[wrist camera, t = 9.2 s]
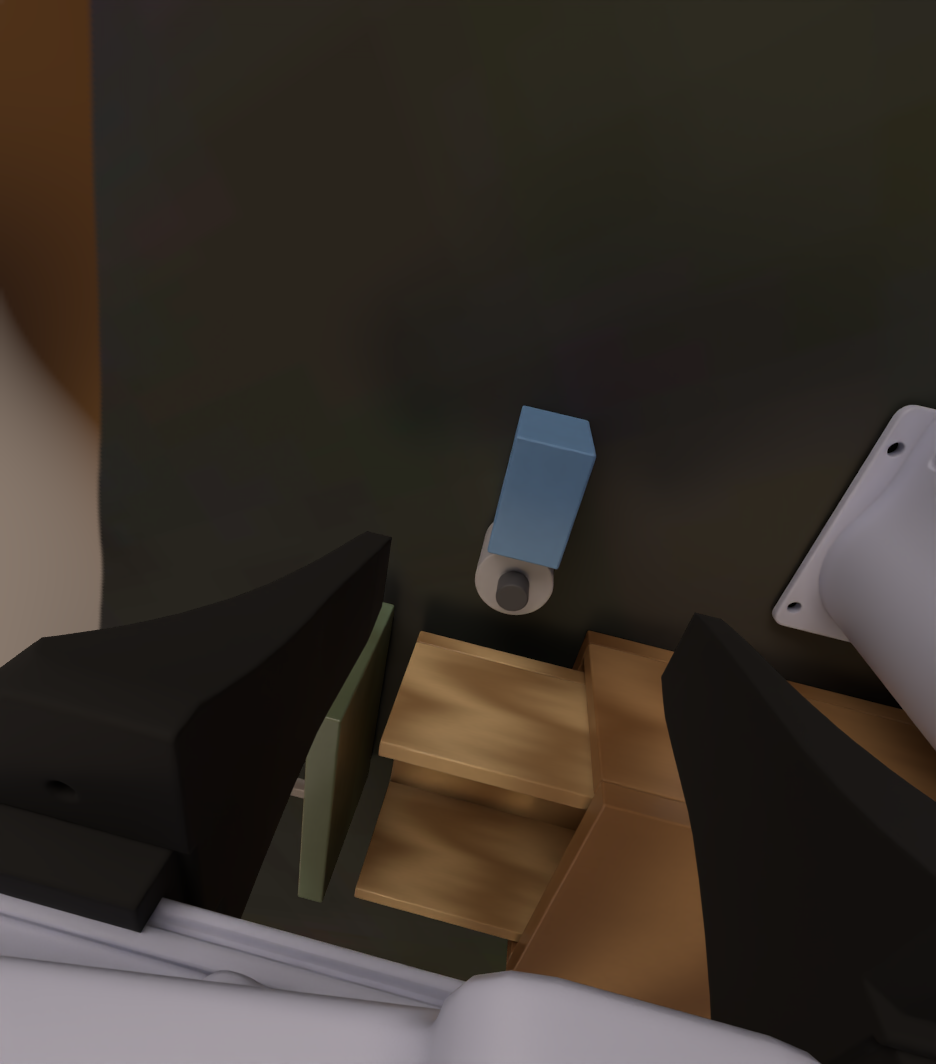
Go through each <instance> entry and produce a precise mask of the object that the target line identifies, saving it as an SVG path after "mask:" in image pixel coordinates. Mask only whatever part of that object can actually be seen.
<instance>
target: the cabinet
mask: <svg viewBox="0 0 936 1064" xmlns="http://www.w3.org/2000/svg"><path fill="white" fill-rule="evenodd" d="M673 653H674V652H672V651H669V650H665V649H661V648H657V647H653V646H649V645H645V644H641V643H637V642H633V641H629V640H625V639H621V638H617V637H613V636H609V635H605V634H601V633H597V632H593V631H589V630H588V631H587V633H586V636H585V638H584V641H583V643H582V646H581V648H580V651H579V653H578V656H577V658H576V661H575V663H574V665H573V668H572V670H576V671H580V672H584V673H585V683H586V696H587V710H588V723H589V736H590V750H591V763H592V777H593V790H594V794H595V795H594V797H593V799H592V801H591V803H590V805H589V807H588V809H587V811H586V813H585V815H584V816H583V818H582V820H581V822H580V824H579V826H578V828H577V830H576V832H575V834H574V836H573V838H572V839H571V841H570V843H569V845H568V847H567V849H566V851H565V853H564V855H563V857H562V859H561V861H560V863H559V864H558V866H557V868H556V870H555V872H554V874H553V876H552V878H551V880H550V882H549V884H548V886H547V887H546V889H545V891H544V893H543V895H542V897H541V899H540V901H539V903H538V905H537V907H536V909H535V911H534V912H533V914H532V916H531V918H530V920H529V922H528V924H527V926H526V928H525V930H524V932H523V934H522V935H521V937H520V939H519V941H518V942H516V941H512V940H509V939H508V947H507V964H506V971H510V970H513V971H519V972H526V973H533V974H540V975H546V976H553V977H559V978H562V979H566V980H569V981H573V982H577V983H580V984H584V985H588V986H591V987H595V988H598V989H602V990H606V991H609V992H613V993H616V994H620V995H624V996H627V997H631V998H635V999H638V1000H642V1001H645V1002H649V1003H653V1004H656V1005H660V1006H664V1007H667V1008H671V1009H674V1010H678V1011H682V1012H685V1013H689V1014H692V1015H696V1016H700V1017H703V1018H707V1019H711V1012H710V993H709V981H708V968H707V956H706V944H705V932H704V923H703V913H702V904H701V895H700V886H699V878H698V871H697V864H696V856H695V849H694V842H693V835H692V829H691V825H690V820H689V815H688V810H687V806H686V802H685V798H684V794H683V790H682V786H681V782H680V778H679V774H678V770H677V766H676V762H675V758H674V754H673V750H672V746H671V741H670V737H669V733H668V729H667V725H666V720H665V714H664V706H663V696H662V683H661V676H662V674H663V672H664V670H665V668H666V666H667V665H668V663H669V661H670V659H671V657H672V655H673ZM788 682H789V683H790V684H791V685H792V686H793V687H794V688H795V689H796V690H797V691H798V692H799V693H800V694H801V695H802V696H804V697H805V698H806V699H807V700H808V701H809V702H810V703H811V704H812V705H813V706H814V707H816V708H817V709H818V710H819V711H820V712H821V713H822V714H823V715H825V716H826V717H827V718H828V719H829V720H830V721H831V722H833V723H834V724H835V725H836V726H837V727H838V728H839V729H841V730H842V731H843V732H844V733H845V734H847V735H848V736H849V737H850V738H851V739H853V740H854V741H855V742H856V743H858V744H859V745H860V746H861V747H863V748H864V749H865V750H866V751H868V752H869V753H870V754H872V755H873V756H874V757H875V758H877V759H878V760H879V761H880V762H882V763H883V764H884V765H885V766H887V767H888V768H889V769H891V770H892V771H893V772H895V773H896V774H897V775H899V776H900V777H902V778H903V779H904V780H906V781H907V782H908V783H910V784H911V785H912V786H914V787H915V788H917V789H918V790H920V791H921V792H923V793H924V794H925V795H927V796H928V797H930V798H931V799H933V800H934V801H935V802H936V751H935V750H934V748H933V747H932V746H931V744H930V743H929V742H928V741H927V739H926V738H925V737H924V735H923V734H922V733H921V732H920V730H919V729H918V728H917V727H916V725H915V724H914V723H913V721H912V720H911V719H910V718H909V716H908V715H907V714H906V712H905V711H904V710H902V709H898V708H894V707H890V706H886V705H882V704H878V703H874V702H870V701H867V700H863V699H859V698H855V697H851V696H847V695H843V694H839V693H835V692H831V691H827V690H823V689H819V688H815V687H811V686H807V685H803V684H799V683H795V682H791V681H788Z"/></svg>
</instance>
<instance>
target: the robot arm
mask: <svg viewBox="0 0 936 1064" xmlns="http://www.w3.org/2000/svg"><path fill="white" fill-rule="evenodd" d="M896 442H898V447H897V449H896V450H895V451H893V452H891V453H887V451H888V448H889V447H890V446H891V445H892V444H894V443H896ZM391 540H392V537H388V536H384V535H380V534H376V533H372V532H368V531H366V532H365V533H363V534H361V535H359V536H357V537H356V538H354V539H352V540H351V541H349V542H347V543H345V544H344V545H342V546H340V547H339V548H337V549H335V550H334V551H332V552H330V553H328V554H327V555H325V556H323V557H321V558H319V559H318V560H316V561H314V562H312V563H310V564H309V565H307V566H305V567H303V568H301V569H299V570H296V571H294V572H292V573H290V574H288V575H286V576H284V577H282V578H280V579H278V580H276V581H274V582H271V583H269V584H267V585H264V586H262V587H259V588H257V589H254V590H252V591H249V592H246V593H244V594H241V595H238V596H236V597H233V598H230V599H227V600H224V601H220V602H217V603H214V604H210V605H207V606H204V607H200V608H197V609H193V610H190V611H187V612H183V613H179V614H175V615H171V616H167V617H163V618H158V619H154V620H149V621H144V622H139V623H135V624H130V625H124V626H119V627H113V628H107V629H100V630H94V631H87V632H80V633H73V634H66V635H59V636H51V637H43V638H41V639H39V640H38V641H37V642H35V643H33V644H32V645H31V646H29V647H28V648H27V649H25V650H24V651H22V652H21V653H20V654H18V655H17V656H16V657H14V658H13V659H12V660H10V661H9V662H7V663H6V664H5V665H3V666H2V667H1V668H0V1064H936V802H935V801H934V800H933V799H931V798H930V797H928V796H927V795H925V794H924V793H923V792H921V791H920V790H918V789H917V788H915V787H914V786H912V785H911V784H910V783H908V782H907V781H906V780H904V779H903V778H902V777H900V776H899V775H897V774H896V773H895V772H893V771H892V770H891V769H889V768H888V767H887V766H885V765H884V764H883V763H882V762H880V761H879V760H878V759H877V758H875V757H874V756H873V755H872V754H870V753H869V752H868V751H866V750H865V749H864V748H863V747H861V746H860V745H859V744H858V743H856V742H855V741H854V740H853V739H851V738H850V737H849V736H848V735H847V734H845V733H844V732H843V731H842V730H841V729H839V728H838V727H837V726H836V725H835V724H834V723H833V722H831V721H830V720H829V719H828V718H827V717H826V716H825V715H823V714H822V713H821V712H820V711H819V710H818V709H817V708H816V707H814V706H813V705H812V704H811V703H810V702H809V701H808V700H807V699H806V698H805V697H804V696H802V695H801V694H800V693H799V692H798V691H797V690H796V689H795V688H794V687H793V686H792V685H791V684H790V683H789V682H788V681H787V680H785V679H784V678H783V677H782V676H781V675H780V674H779V673H778V672H777V671H776V670H775V669H774V668H773V667H772V666H771V665H770V664H769V663H768V662H767V661H766V660H765V659H764V658H763V657H762V656H761V655H760V654H759V653H758V652H757V651H756V650H755V649H754V648H753V647H752V646H751V645H750V644H749V643H748V642H746V641H745V640H744V639H743V638H742V637H741V636H740V635H739V634H738V633H737V632H736V631H735V630H734V629H733V628H731V627H730V626H729V625H728V624H727V623H725V622H724V621H723V620H722V619H719V618H715V617H711V616H707V615H703V614H699V613H694V615H693V617H692V619H691V621H690V623H689V625H688V627H687V628H686V630H685V632H684V634H683V636H682V638H681V640H680V642H679V644H678V646H677V647H676V649H675V651H674V653H673V655H672V657H671V659H670V661H669V663H668V665H667V666H666V668H665V670H664V672H663V674H662V676H661V683H662V696H663V706H664V714H665V720H666V725H667V729H668V733H669V737H670V741H671V746H672V750H673V754H674V758H675V762H676V766H677V770H678V774H679V778H680V782H681V786H682V790H683V794H684V798H685V802H686V806H687V810H688V815H689V820H690V825H691V829H692V835H693V842H694V849H695V856H696V864H697V871H698V878H699V886H700V895H701V904H702V913H703V923H704V932H705V944H706V956H707V968H708V981H709V993H710V1012H711V1019H707V1018H703V1017H700V1016H696V1015H692V1014H689V1013H685V1012H682V1011H678V1010H674V1009H671V1008H667V1007H664V1006H660V1005H656V1004H653V1003H649V1002H645V1001H642V1000H638V999H635V998H631V997H627V996H624V995H620V994H616V993H613V992H609V991H606V990H602V989H598V988H595V987H591V986H588V985H584V984H580V983H577V982H573V981H569V980H566V979H562V978H559V977H553V976H546V975H540V974H533V973H526V972H519V971H513V970H510V971H503V972H495V973H488V974H481V975H474V976H473V977H471V978H470V979H469V980H468V981H466V982H465V981H461V980H458V979H454V978H451V977H447V976H443V975H440V974H436V973H433V972H429V971H425V970H422V969H418V968H415V967H411V966H407V965H404V964H400V963H397V962H393V961H389V960H386V959H382V958H379V957H375V956H372V955H368V954H364V953H361V952H357V951H354V950H350V949H346V948H343V947H339V946H336V945H332V944H328V943H325V942H321V941H318V940H314V939H310V938H307V937H303V936H300V935H296V934H293V933H289V932H285V931H282V930H278V929H275V928H271V927H267V926H264V925H260V924H257V923H253V922H249V921H246V920H242V919H241V917H242V914H243V911H244V909H245V906H246V904H247V901H248V899H249V896H250V893H251V891H252V888H253V886H254V883H255V880H256V878H257V875H258V873H259V870H260V868H261V865H262V863H263V860H264V858H265V855H266V853H267V850H268V848H269V846H270V843H271V841H272V838H273V836H274V833H275V831H276V828H277V826H278V823H279V821H280V818H281V816H282V814H283V811H284V809H285V806H286V804H287V802H288V799H289V797H290V795H291V792H292V790H293V787H294V785H295V783H296V780H297V778H298V776H299V773H300V771H301V769H302V766H303V764H304V762H305V760H306V757H307V755H308V753H309V750H310V748H311V746H312V744H313V741H314V739H315V737H316V734H317V732H318V730H319V728H320V726H321V725H322V723H323V721H324V719H325V717H326V715H327V713H328V711H329V710H330V708H331V706H332V704H333V702H334V701H335V699H336V697H337V695H338V694H339V692H340V690H341V688H342V687H343V685H344V683H345V681H346V680H347V678H348V676H349V674H350V672H351V671H352V669H353V667H354V665H355V664H356V662H357V660H358V658H359V656H360V655H361V653H362V651H363V649H364V647H365V646H366V644H367V642H368V640H369V637H370V635H371V633H372V630H373V628H374V625H375V623H376V620H377V618H378V615H379V613H380V610H381V608H382V603H383V596H384V589H385V582H386V575H387V568H388V561H389V554H390V547H391ZM793 602H797V604H796V605H795V606H792V607H788V605H789V604H791V603H793ZM772 616H773V618H774V619H775V621H776V622H777V623H778V624H780V625H783V626H787V627H791V628H795V629H799V630H803V631H807V632H811V633H815V634H819V635H823V636H827V637H831V638H835V639H839V640H843V641H847V642H851V643H852V644H853V646H854V647H855V648H856V650H857V651H858V652H859V653H860V655H861V656H862V657H863V659H864V660H865V661H866V662H867V664H868V665H869V666H870V668H871V669H872V670H873V671H874V673H875V674H876V675H877V677H878V678H879V679H880V680H881V682H882V683H883V684H884V686H885V687H886V688H887V689H888V691H889V692H890V693H891V694H892V696H893V697H894V698H895V700H896V701H897V702H898V703H899V705H900V706H901V707H902V709H903V710H904V711H905V712H906V714H907V715H908V716H909V718H910V719H911V720H912V721H913V723H914V724H915V725H916V727H917V728H918V729H919V730H920V732H921V733H922V734H923V735H924V737H925V738H926V739H927V741H928V742H929V743H930V744H931V746H932V747H933V748H934V750H935V751H936V409H932V408H927V407H923V406H919V405H908V406H905V407H903V408H901V409H900V410H898V411H897V412H896V413H895V414H894V415H893V417H892V418H891V420H890V422H889V423H888V425H887V427H886V428H885V430H884V431H883V433H882V435H881V436H880V438H879V439H878V441H877V443H876V444H875V446H874V447H873V449H872V451H871V452H870V454H869V456H868V457H867V459H866V460H865V462H864V464H863V465H862V467H861V468H860V470H859V472H858V473H857V475H856V476H855V478H854V480H853V481H852V483H851V485H850V486H849V488H848V489H847V491H846V493H845V494H844V496H843V497H842V499H841V501H840V502H839V504H838V505H837V507H836V509H835V510H834V512H833V514H832V515H831V517H830V518H829V520H828V522H827V523H826V525H825V526H824V528H823V530H822V531H821V533H820V534H819V536H818V538H817V539H816V541H815V543H814V544H813V546H812V547H811V549H810V551H809V552H808V554H807V555H806V557H805V559H804V560H803V562H802V563H801V565H800V567H799V568H798V570H797V571H796V573H795V575H794V576H793V578H792V580H791V581H790V583H789V584H788V586H787V588H786V589H785V591H784V592H783V594H782V596H781V597H780V599H779V600H778V602H777V604H776V605H775V607H774V609H773V611H772Z"/></svg>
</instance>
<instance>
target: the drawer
mask: <svg viewBox="0 0 936 1064" xmlns="http://www.w3.org/2000/svg"><path fill="white" fill-rule="evenodd" d="M394 609H395V606H394V605H392V604H388V603H384V602H383V603H382V608H381V610H380V613H379V615H378V618H377V620H376V623H375V625H374V628H373V630H372V633H371V635H370V637H369V640H368V642H367V644H366V646H365V647H364V649H363V651H362V653H361V655H360V656H359V658H358V660H357V662H356V664H355V665H354V667H353V669H352V671H351V672H350V674H349V676H348V678H347V680H346V681H345V683H344V685H343V687H342V688H341V690H340V692H339V694H338V695H337V697H336V699H335V701H334V702H333V704H332V706H331V708H330V710H329V711H328V713H327V715H326V717H325V719H324V721H323V723H322V725H321V726H320V728H319V730H318V732H317V734H316V737H315V739H314V741H313V744H312V746H311V748H310V750H309V753H308V755H307V757H306V770H305V780H304V779H301V778H297V780H296V783H295V785H294V787H293V790H292V792H291V795H292V796H296V797H300V798H303V799H304V803H303V820H302V836H301V853H300V870H299V886H298V896H299V897H303V898H306V899H310V900H313V901H317V902H322V901H323V898H324V896H325V893H326V890H327V887H328V885H329V882H330V879H331V876H332V874H333V871H334V868H335V865H336V863H337V860H338V857H339V854H340V851H341V849H342V846H343V843H344V840H345V838H346V835H347V832H348V829H349V827H350V824H351V821H352V818H353V816H354V813H355V810H356V807H357V805H358V802H359V799H360V796H361V794H362V791H363V788H364V785H365V782H366V780H367V777H368V774H369V768H370V762H371V755H372V749H373V743H374V736H375V730H376V724H377V717H378V711H379V704H380V698H381V692H382V685H383V679H384V673H385V666H386V660H387V654H388V647H389V641H390V634H391V628H392V622H393V615H394ZM378 754H379V755H380V756H383V757H387V758H391V759H394V762H393V767H392V772H391V777H390V782H389V785H388V788H387V791H386V794H385V797H384V800H383V804H382V807H381V810H380V813H379V816H378V819H377V822H376V826H375V829H374V832H373V835H372V838H371V841H370V845H369V848H368V851H367V854H366V857H365V860H364V864H363V867H362V870H361V873H360V876H359V879H358V882H357V886H356V890H355V897H357V898H361V899H364V900H368V901H371V902H375V903H379V904H382V905H386V906H389V907H393V908H397V909H400V910H404V911H408V912H411V913H415V914H418V915H422V916H426V917H429V918H433V919H436V920H440V921H444V922H447V923H451V924H454V925H458V926H462V927H465V928H469V929H473V930H476V931H480V932H483V933H487V934H491V935H494V936H498V937H501V938H505V939H509V940H512V941H516V942H518V941H519V939H520V937H521V935H522V934H523V932H524V930H525V928H526V926H527V924H528V922H529V920H530V918H531V916H532V914H533V912H534V911H535V909H536V907H537V905H538V903H539V901H540V899H541V897H542V895H543V893H544V891H545V889H546V887H547V886H548V884H549V882H550V880H551V878H552V876H553V874H554V872H555V870H556V868H557V866H558V864H559V863H560V861H561V859H562V857H563V855H564V853H565V851H566V849H567V847H568V845H569V843H570V841H571V839H572V838H573V836H574V834H575V832H576V830H577V828H578V826H579V824H580V822H581V820H582V818H583V816H584V815H585V813H586V811H587V809H588V807H589V805H590V803H591V801H592V799H593V797H594V795H595V794H594V790H593V777H592V763H591V750H590V736H589V723H588V710H587V696H586V683H585V673H584V672H580V671H576V670H572V669H569V668H565V667H561V666H557V665H553V664H549V663H545V662H541V661H537V660H533V659H529V658H526V657H522V656H518V655H514V654H510V653H506V652H502V651H498V650H494V649H490V648H486V647H483V646H479V645H475V644H471V643H467V642H463V641H459V640H455V639H451V638H447V637H443V636H440V635H436V634H432V633H428V632H424V631H421V632H420V633H419V636H418V639H417V642H416V644H415V647H414V650H413V652H412V655H411V658H410V661H409V664H408V666H407V669H406V672H405V675H404V677H403V680H402V683H401V686H400V688H399V691H398V694H397V697H396V699H395V702H394V705H393V708H392V710H391V713H390V716H389V719H388V721H387V724H386V727H385V730H384V732H383V735H382V738H381V741H380V746H379V752H378Z"/></svg>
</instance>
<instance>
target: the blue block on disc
mask: <svg viewBox="0 0 936 1064" xmlns="http://www.w3.org/2000/svg"><path fill="white" fill-rule="evenodd" d="M595 460H596V452H595V448H594V443H593V438H592V434H591V429H590V425H589V421H587V420H583V419H579V418H575V417H571V416H566V415H562V414H558V413H554V412H550V411H545V410H541V409H537V408H533V407H528V406H523V407H522V410H521V414H520V418H519V422H518V426H517V430H516V434H515V438H514V442H513V446H512V450H511V454H510V458H509V462H508V466H507V470H506V474H505V478H504V482H503V486H502V490H501V494H500V498H499V502H498V506H497V510H496V514H495V519H494V522H493V523H492V524H491V525H490V526H489V528H488V530H487V532H486V535H485V538H484V542H483V546H482V550H481V554H480V558H479V562H478V566H477V570H476V575H475V585H476V589H477V591H478V593H479V595H480V597H481V598H482V600H483V601H484V602H485V603H486V604H487V605H489V606H490V607H491V608H493V609H495V610H497V611H499V612H502V613H505V614H511V615H521V614H527V613H530V612H533V611H535V610H537V609H539V608H540V607H542V606H543V605H544V604H545V603H546V602H547V601H548V599H549V598H550V596H551V594H552V591H553V584H554V569H558V568H559V565H560V562H561V559H562V556H563V553H564V551H565V548H566V545H567V542H568V539H569V536H570V533H571V530H572V527H573V524H574V521H575V518H576V515H577V512H578V509H579V507H580V504H581V501H582V498H583V495H584V492H585V489H586V486H587V483H588V480H589V477H590V474H591V471H592V468H593V465H594V463H595Z"/></svg>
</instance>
